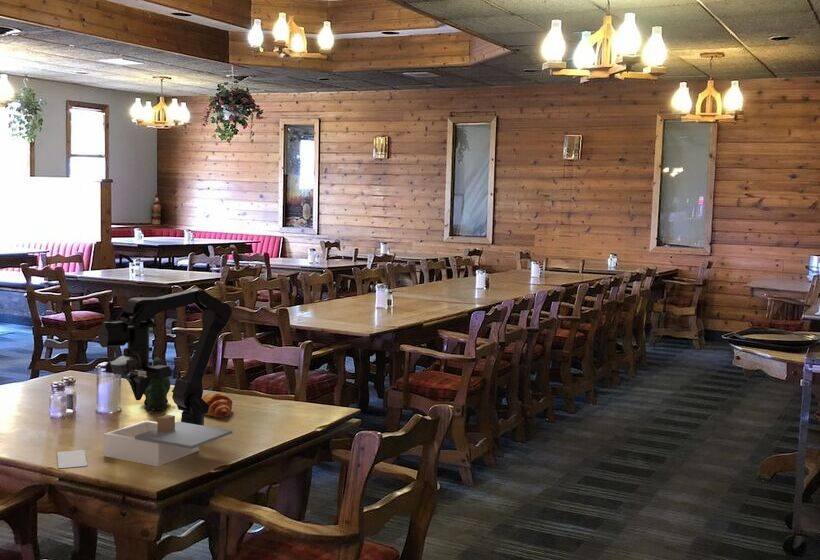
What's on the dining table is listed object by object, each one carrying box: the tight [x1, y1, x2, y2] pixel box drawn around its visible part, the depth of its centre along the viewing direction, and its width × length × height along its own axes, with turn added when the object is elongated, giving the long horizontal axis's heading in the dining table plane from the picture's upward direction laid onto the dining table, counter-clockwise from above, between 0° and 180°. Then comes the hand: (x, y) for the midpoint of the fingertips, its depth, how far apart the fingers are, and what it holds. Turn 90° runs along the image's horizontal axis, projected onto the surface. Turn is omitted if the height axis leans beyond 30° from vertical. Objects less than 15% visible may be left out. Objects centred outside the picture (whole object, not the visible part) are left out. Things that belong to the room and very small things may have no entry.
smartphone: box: [56, 449, 89, 470], centre depth 222 cm, size 7×1×15 cm
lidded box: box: [103, 419, 199, 467], centre depth 229 cm, size 16×18×6 cm
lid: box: [135, 414, 233, 449], centre depth 224 cm, size 17×18×4 cm
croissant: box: [202, 392, 233, 419], centre depth 274 cm, size 21×10×8 cm, turn 29°
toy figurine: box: [143, 356, 171, 412], centre depth 278 cm, size 9×19×25 cm
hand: (138, 400), depth 238 cm, fingers closed
